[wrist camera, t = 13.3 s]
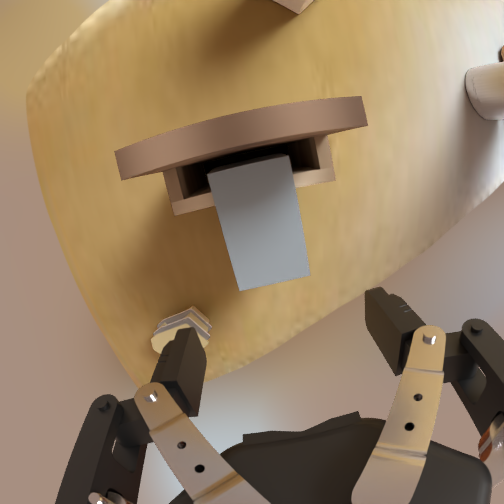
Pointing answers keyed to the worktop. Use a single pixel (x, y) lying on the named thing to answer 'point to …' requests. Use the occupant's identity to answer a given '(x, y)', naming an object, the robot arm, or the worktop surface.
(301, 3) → the milk carton
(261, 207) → the blue-grey block
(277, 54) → the worktop surface
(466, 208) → the worktop surface
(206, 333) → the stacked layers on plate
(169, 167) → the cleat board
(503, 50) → the tan boot vase
